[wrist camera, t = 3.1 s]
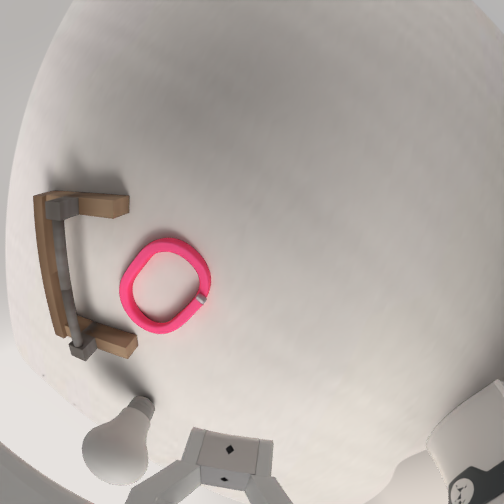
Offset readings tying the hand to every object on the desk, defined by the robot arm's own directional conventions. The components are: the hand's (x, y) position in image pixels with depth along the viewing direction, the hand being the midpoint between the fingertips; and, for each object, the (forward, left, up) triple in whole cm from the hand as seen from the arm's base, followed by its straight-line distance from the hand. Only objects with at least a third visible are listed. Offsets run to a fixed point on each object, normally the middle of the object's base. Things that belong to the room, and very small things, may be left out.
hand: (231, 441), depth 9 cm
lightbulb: (+10, +14, -11) cm, 21 cm away
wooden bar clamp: (+13, 0, -11) cm, 17 cm away
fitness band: (+7, 0, -12) cm, 14 cm away
